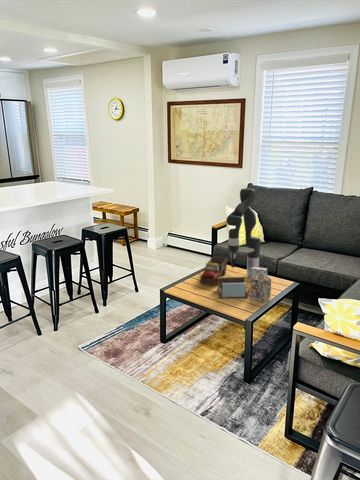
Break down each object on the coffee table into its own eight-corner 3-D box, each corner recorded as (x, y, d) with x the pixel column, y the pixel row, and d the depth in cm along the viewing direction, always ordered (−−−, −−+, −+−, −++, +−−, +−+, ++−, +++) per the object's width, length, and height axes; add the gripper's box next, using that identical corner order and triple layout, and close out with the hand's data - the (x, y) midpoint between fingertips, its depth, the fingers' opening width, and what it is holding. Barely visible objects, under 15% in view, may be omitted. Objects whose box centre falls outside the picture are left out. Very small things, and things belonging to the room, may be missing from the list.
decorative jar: (265, 303, 257) (266, 278, 252) (249, 299, 263) (250, 275, 258) (271, 296, 267) (272, 273, 262) (255, 293, 273) (256, 270, 268)
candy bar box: (266, 288, 281) (267, 268, 276) (264, 291, 277) (265, 270, 272) (252, 286, 286) (253, 266, 281) (250, 288, 282) (251, 268, 277)
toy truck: (198, 285, 290) (198, 267, 285) (213, 270, 320) (213, 253, 316) (215, 288, 284) (215, 269, 280) (229, 272, 315) (229, 255, 311)
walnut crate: (217, 289, 281) (217, 277, 278) (244, 289, 280) (244, 276, 278) (219, 298, 265) (219, 285, 262) (247, 298, 265) (248, 285, 262)
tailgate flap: (222, 296, 264) (222, 283, 262) (244, 295, 264) (245, 282, 261) (222, 296, 263) (222, 283, 260) (245, 296, 263) (245, 283, 260)
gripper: (227, 241, 268) (226, 264, 272) (229, 246, 255) (228, 270, 259) (237, 241, 267) (236, 264, 272) (240, 246, 255) (239, 270, 259)
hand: (232, 267), depth 266 cm, fingers closed
